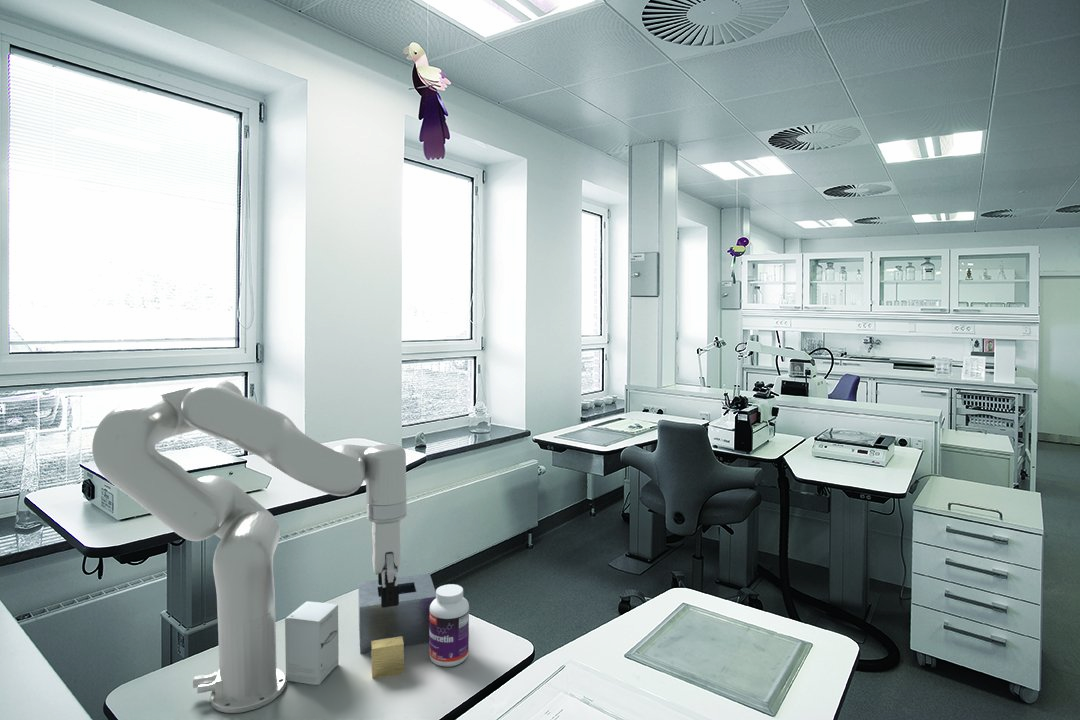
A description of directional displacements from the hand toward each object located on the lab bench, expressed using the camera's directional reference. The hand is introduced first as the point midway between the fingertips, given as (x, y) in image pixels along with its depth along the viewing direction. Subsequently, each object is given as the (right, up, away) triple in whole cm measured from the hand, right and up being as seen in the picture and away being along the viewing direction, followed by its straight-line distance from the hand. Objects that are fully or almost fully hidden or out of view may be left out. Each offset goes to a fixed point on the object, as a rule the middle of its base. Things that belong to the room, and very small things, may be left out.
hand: (388, 594), depth 116 cm
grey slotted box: (-2, -15, +15) cm, 21 cm away
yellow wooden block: (0, -16, +1) cm, 16 cm away
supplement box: (-15, -16, 0) cm, 22 cm away
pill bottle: (+11, -16, +6) cm, 20 cm away
